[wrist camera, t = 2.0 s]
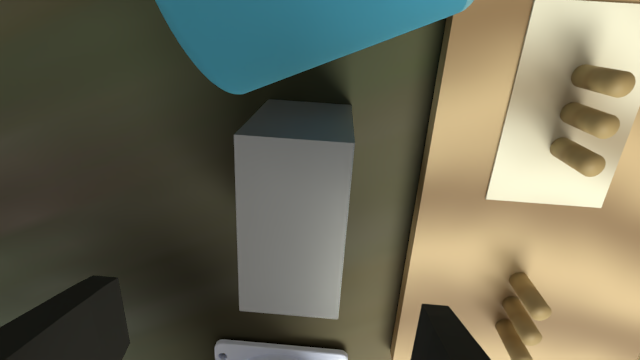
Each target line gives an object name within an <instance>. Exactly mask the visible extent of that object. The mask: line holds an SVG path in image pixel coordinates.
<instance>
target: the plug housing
mask: <svg viewBox="0 0 640 360" xmlns="http://www.w3.org/2000/svg"><path fill="white" fill-rule="evenodd" d="M354 146H355V141H354V129H353V117H352V106H351V105H347V104H332V103H317V102H302V101H288V100H273V99H268V100H267V101H266V102H265V103H264V104H263V105H262V106H261V108H260V109H259V110H258V111H257V112H256V113H255V114H254V115H253V116H252V117H251V118H250V119H249V120H248V121H247V122H246V123H245V124H244V125H243V126H242V127H241V128H240V129H239V130H238V131H237V132H236V133H235V134H234V158H235V190H236V222H237V254H238V286H239V311H247V312H258V313H270V314H282V315H293V316H305V317H316V318H328V319H338V314H339V304H340V293H341V283H342V272H343V261H344V251H345V240H346V230H347V219H348V209H349V198H350V188H351V177H352V167H353V156H354Z"/></svg>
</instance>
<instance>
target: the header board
mask: <svg viewBox="0 0 640 360" xmlns="http://www.w3.org/2000/svg"><path fill="white" fill-rule="evenodd" d="M422 304H433V305H445V306H449V307H450V308H451V310H452V311H453V312H454V313H455V314H456V316H457V317H458V318H459V320H460V321H461V322H462V323H463V325H464V326H465V327H466V329H467V330H468V331H469V332H470V334H471V335H472V336H473V337H474V339H475V340H476V341H477V342H478V344H479V345H480V346H481V348H482V349H483V350H484V351H485V353H486V354H487V355H488V356H489V358H490V359H491V360H637V359H638V357H639V355H640V0H474V1H473V2H472V4H471V5H470V6H468V7H467V8H466V9H465V10H464V11H462V12H460V13H457V14H455V15H452V16H449V17H447V18H446V24H445V30H444V36H443V42H442V48H441V54H440V60H439V66H438V72H437V78H436V83H435V89H434V95H433V101H432V107H431V113H430V119H429V125H428V131H427V137H426V143H425V149H424V155H423V160H422V166H421V172H420V178H419V184H418V190H417V196H416V202H415V208H414V214H413V220H412V226H411V232H410V237H409V243H408V249H407V255H406V261H405V267H404V273H403V279H402V285H401V291H400V297H399V303H398V309H397V314H396V320H395V326H394V332H393V338H392V344H391V350H390V352H391V359H392V360H411V355H412V350H413V345H414V340H415V335H416V330H417V325H418V320H419V315H420V310H421V305H422Z"/></svg>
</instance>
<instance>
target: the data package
mask: <svg viewBox="0 0 640 360" xmlns="http://www.w3.org/2000/svg"><path fill="white" fill-rule="evenodd" d="M155 1H156V3H157V5H158V7H159V9H160V11H161V13H162V15H163V17H164V19H165V20H166V22H167V24H168V26H169V27H170V29H171V31H172V32H173V34H174V36H175V37H176V39H177V41H178V42H179V44H180V45H181V47H182V48H183V49H184V51H185V52H186V54H187V55H188V56H189V58H190V59H191V60H192V62H193V63H194V64H195V65H196V66H197V68H198V69H199V70H200V71H201V72H202V73H203V74H204V75H205V76H206V77H207V78H208V79H209V80H210V81H211V82H212V83H214V84H215V85H216V86H217V87H219V88H221V89H222V90H224V91H226V92H229V93H232V94H245V93H248V92H250V91H253V90H256V89H258V88H261V87H264V86H266V85H269V84H272V83H274V82H277V81H280V80H282V79H285V78H287V77H290V76H293V75H295V74H298V73H301V72H303V71H306V70H309V69H311V68H314V67H317V66H319V65H322V64H325V63H327V62H330V61H333V60H335V59H338V58H341V57H343V56H346V55H348V54H351V53H354V52H356V51H359V50H362V49H364V48H367V47H370V46H372V45H375V44H378V43H380V42H383V41H386V40H388V39H391V38H394V37H396V36H399V35H402V34H404V33H407V32H409V31H412V30H415V29H417V28H420V27H423V26H425V25H428V24H431V23H433V22H436V21H439V20H441V19H444V18H447V17H449V16H452V15H455V14H457V13H460V12H462V11H464V10H465V9H466V8H467V7H468V6H470V5H471V4H472V2H473V1H474V0H155Z"/></svg>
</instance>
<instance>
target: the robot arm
mask: <svg viewBox="0 0 640 360" xmlns="http://www.w3.org/2000/svg"><path fill="white" fill-rule="evenodd" d="M129 344H130V340H129V335H128V329H127V324H126V318H125V313H124V308H123V302H122V297H121V291H120V286H119V281H118V278H115V277H104V276H91V277H89V278H87V279H85V280H83V281H81V282H80V283H78V284H76V285H74V286H72V287H70V288H69V289H67V290H65V291H63V292H61V293H60V294H58V295H56V296H54V297H53V298H51V299H49V300H47V301H46V302H44V303H42V304H40V305H39V306H37V307H35V308H34V309H32V310H30V311H28V312H26V313H25V314H23V315H21V316H19V317H18V318H16V319H14V320H12V321H11V322H9V323H7V324H5V325H4V326H2V327H0V360H122V359H123V356H124V354H125V352H126V350H127V348H128V346H129ZM214 351H215V360H348V354H347V353H346V352H345V351H343V350H338V349H327V348H316V347H305V346H293V345H282V344H271V343H260V342H248V341H237V340H226V339H221V340H218V341H217V342H216V345H215V348H214ZM222 353H224V354H222ZM411 360H491V359H490V358H489V356H488V355H487V354H486V353H485V351H484V350H483V349H482V348H481V346H480V345H479V344H478V342H477V341H476V340H475V339H474V337H473V336H472V335H471V334H470V332H469V331H468V330H467V329H466V327H465V326H464V325H463V323H462V322H461V321H460V320H459V318H458V317H457V316H456V314H455V313H454V312H453V311H452V310H451V308H450V307H449V306H445V305H433V304H422V305H421V310H420V315H419V320H418V325H417V330H416V335H415V340H414V345H413V350H412V355H411Z"/></svg>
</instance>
